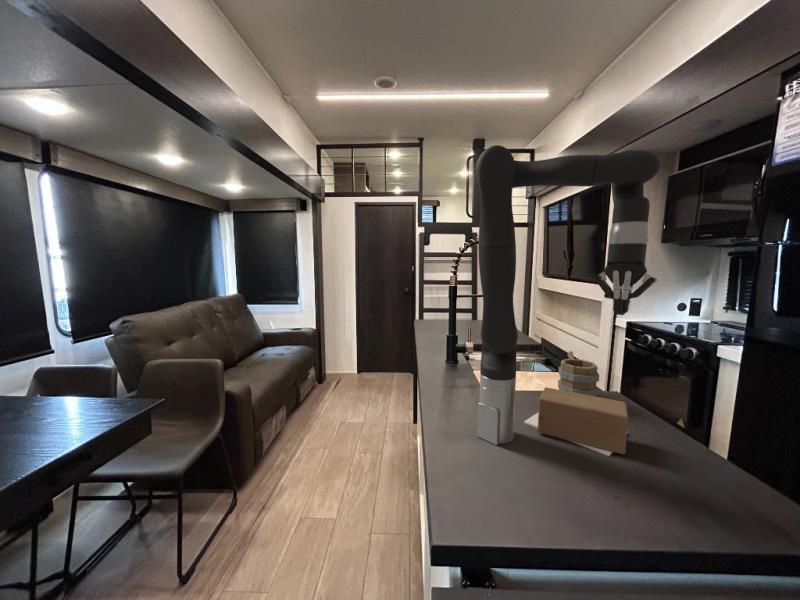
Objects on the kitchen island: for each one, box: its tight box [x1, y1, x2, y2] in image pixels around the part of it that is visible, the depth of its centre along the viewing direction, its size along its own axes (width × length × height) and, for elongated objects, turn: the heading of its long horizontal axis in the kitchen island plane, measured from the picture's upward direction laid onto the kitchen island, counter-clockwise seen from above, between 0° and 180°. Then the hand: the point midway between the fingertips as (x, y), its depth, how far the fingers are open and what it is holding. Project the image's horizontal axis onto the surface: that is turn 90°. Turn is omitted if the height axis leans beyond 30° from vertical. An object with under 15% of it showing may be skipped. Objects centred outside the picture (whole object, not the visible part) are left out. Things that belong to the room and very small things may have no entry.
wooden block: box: [537, 386, 629, 455], centre depth 87 cm, size 10×10×20 cm
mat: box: [523, 412, 629, 457], centre depth 92 cm, size 16×22×1 cm
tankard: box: [557, 350, 600, 397], centre depth 112 cm, size 20×13×15 cm, turn 161°
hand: (620, 314), depth 79 cm, fingers closed
